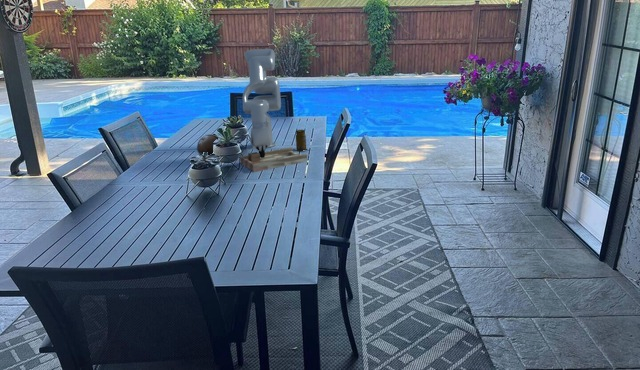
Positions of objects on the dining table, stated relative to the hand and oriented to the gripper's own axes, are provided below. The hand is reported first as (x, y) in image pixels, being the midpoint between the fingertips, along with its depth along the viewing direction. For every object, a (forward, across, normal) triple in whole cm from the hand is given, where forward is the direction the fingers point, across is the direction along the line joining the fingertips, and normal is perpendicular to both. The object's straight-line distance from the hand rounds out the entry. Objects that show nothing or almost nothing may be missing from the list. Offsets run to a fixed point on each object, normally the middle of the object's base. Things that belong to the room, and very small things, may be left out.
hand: (262, 157), depth 270 cm
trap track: (+3, -5, +4) cm, 7 cm away
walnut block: (+1, +5, 0) cm, 5 cm away
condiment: (+3, -30, -10) cm, 32 cm away
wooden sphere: (+3, +22, -24) cm, 33 cm away
